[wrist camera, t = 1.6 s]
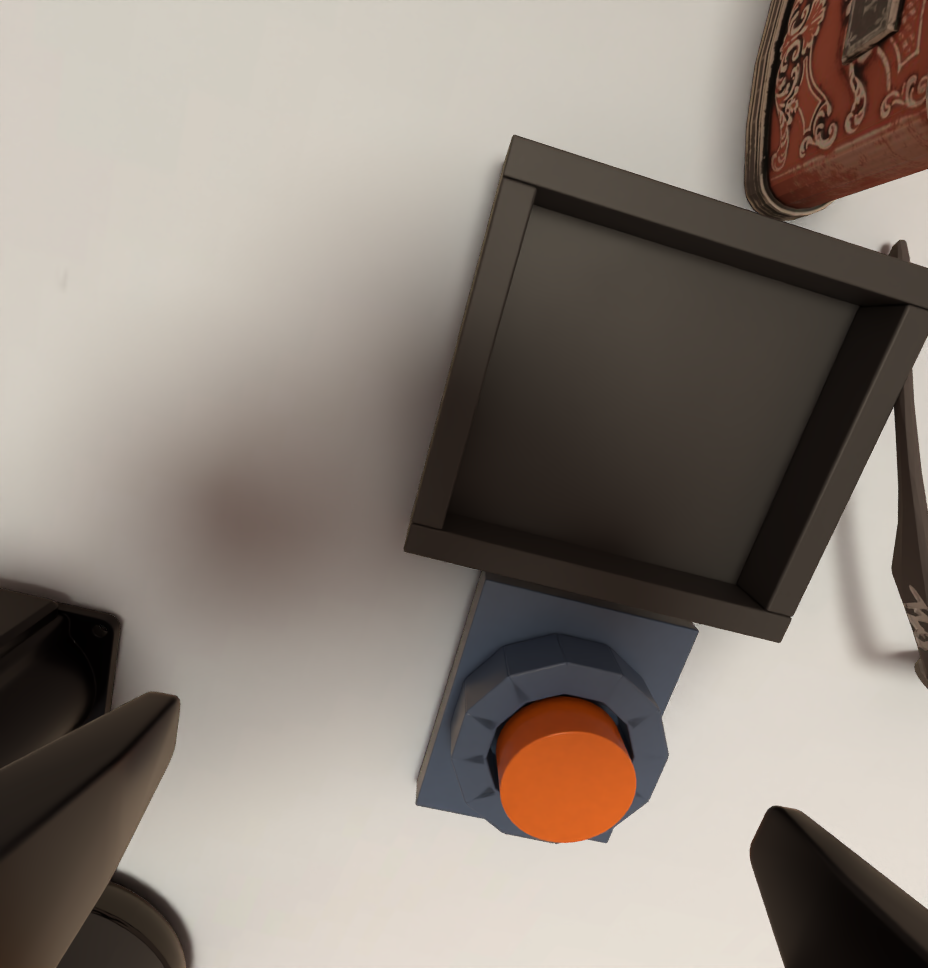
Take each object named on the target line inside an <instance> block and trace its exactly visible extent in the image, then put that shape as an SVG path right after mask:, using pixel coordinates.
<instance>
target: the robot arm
mask: <svg viewBox="0 0 928 968" xmlns="http://www.w3.org/2000/svg"><path fill="white" fill-rule="evenodd" d="M100 625H102V626H104V627H105V628H106V629H107V631H104V630H102V629H101V628H100ZM119 636H120V623H119V621H118V619H117V618H116V617H114V616H113V615H111V614H108V613H104V612H99V611H95V610H90V609H86V608H81V607H77V606H72V605H68V604H63V603H59V602H55V601H53V600H51V599H46V598H42V597H37V596H33V595H28V594H24V593H19V592H15V591H10V590H6V589H1V588H0V968H56V967H57V965H58V963H59V962H60V960H61V959H62V957H63V955H64V954H65V952H66V951H67V949H68V947H69V946H70V944H71V943H72V941H73V939H74V938H75V936H76V935H77V933H78V931H79V930H80V928H81V927H82V925H83V923H84V922H85V920H86V919H87V917H88V915H89V914H90V912H91V911H92V909H93V907H94V906H95V904H96V903H97V901H98V899H99V898H100V896H101V894H102V893H103V891H104V889H105V888H106V886H107V884H108V883H109V881H110V879H111V877H112V876H113V874H114V872H115V870H116V868H117V866H118V864H119V862H120V860H121V858H122V857H123V855H124V853H125V851H126V849H127V847H128V845H129V843H130V841H131V839H132V837H133V835H134V833H135V831H136V829H137V827H138V825H139V823H140V821H141V819H142V817H143V815H144V813H145V811H146V809H147V807H148V805H149V803H150V801H151V799H152V797H153V795H154V793H155V791H156V789H157V787H158V785H159V783H160V781H161V779H162V777H163V775H164V773H165V771H166V769H167V767H168V765H169V762H170V760H171V758H172V755H173V752H174V749H175V744H176V737H177V729H178V721H179V713H180V699H179V698H178V697H177V696H176V695H171V694H165V693H160V692H147V693H145V694H143V695H141V696H139V697H137V698H135V699H133V700H131V701H129V702H127V703H125V704H124V705H122V706H120V707H118V708H116V709H114V710H112V711H110V709H111V701H112V693H113V685H114V677H115V668H116V660H117V652H118V644H119ZM750 861H751V865H752V868H753V871H754V874H755V877H756V880H757V883H758V887H759V890H760V893H761V896H762V899H763V902H764V905H765V908H766V911H767V914H768V917H769V920H770V924H771V927H772V930H773V933H774V936H775V939H776V942H777V945H778V948H779V951H780V954H781V957H782V961H783V963H784V966H785V968H928V909H927V908H925V907H924V906H923V905H921V904H920V903H919V902H918V901H916V900H915V899H914V898H912V897H911V896H910V895H909V894H907V893H906V892H905V891H903V890H902V889H901V888H900V887H898V886H897V885H896V884H894V883H893V882H892V881H891V880H889V879H888V878H887V877H885V876H884V875H883V874H882V873H880V872H879V871H878V870H876V869H875V868H874V867H873V866H871V865H870V864H869V863H867V862H866V861H865V860H864V859H862V858H861V857H860V856H858V855H857V854H856V853H855V852H853V851H852V850H851V849H849V848H848V847H847V846H846V845H844V844H843V843H842V842H840V841H839V840H838V839H837V838H835V837H834V836H833V835H831V834H830V833H829V832H828V831H826V830H825V829H824V828H822V827H821V826H820V825H819V824H817V823H816V822H815V821H813V820H812V819H811V818H810V817H808V816H807V815H806V814H804V813H803V812H801V811H799V810H797V809H793V808H787V807H782V806H772V807H771V808H769V809H768V810H767V812H766V813H765V815H764V818H763V820H762V822H761V824H760V826H759V828H758V830H757V832H756V834H755V836H754V838H753V840H752V843H751V846H750Z"/></svg>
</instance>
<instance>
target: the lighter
mask: <svg viewBox="0 0 928 968" xmlns="http://www.w3.org/2000/svg"><path fill="white" fill-rule="evenodd" d="M926 169H928V0H772V3H771V6H770V10H769V14H768V18H767V22H766V26H765V29H764V33H763V37H762V41H761V45H760V49H759V52H758V56H757V60H756V64H755V71H754V78H753V85H752V92H751V99H750V106H749V114H748V121H747V130H746V158H745V190H746V196H747V198H748V200H749V202H750V203H751V205H752V207H753V208H754V209H755V210H756V211H757V212H759V213H760V214H762V215H765V216H768V217H771V218H774V219H777V220H780V221H784V220H794V219H797V218H801V217H804V216H807V215H810V214H813V213H815V212H818V211H820V210H823V209H825V208H826V207H827V206H828V205H830V204H831V203H832V202H833V201H834V200H836V199H839V198H842V197H845V196H848V195H851V194H854V193H857V192H860V191H863V190H866V189H869V188H872V187H875V186H878V185H881V184H884V183H887V182H890V181H893V180H896V179H899V178H902V177H905V176H908V175H911V174H914V173H917V172H920V171H923V170H926Z"/></svg>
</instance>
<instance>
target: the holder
mask: <svg viewBox="0 0 928 968" xmlns="http://www.w3.org/2000/svg"><path fill="white" fill-rule="evenodd" d="M927 336H928V268H926V267H923V266H920V265H917V264H913V263H910V262H907V261H904V260H901V259H898V258H895V257H892V256H889V255H886V254H882V253H879V252H876V251H873V250H870V249H867V248H864V247H861V246H858V245H855V244H852V243H848V242H845V241H842V240H839V239H836V238H833V237H830V236H827V235H824V234H821V233H817V232H814V231H811V230H808V229H805V228H802V227H799V226H796V225H793V224H790V223H786V222H783V221H780V220H777V219H774V218H771V217H768V216H765V215H762V214H759V213H755V212H752V211H749V210H746V209H743V208H740V207H737V206H734V205H731V204H728V203H724V202H721V201H718V200H715V199H712V198H709V197H706V196H703V195H700V194H697V193H694V192H690V191H687V190H684V189H681V188H678V187H675V186H672V185H669V184H666V183H663V182H659V181H656V180H653V179H650V178H647V177H644V176H641V175H638V174H635V173H632V172H628V171H625V170H622V169H619V168H616V167H613V166H610V165H607V164H604V163H601V162H597V161H594V160H591V159H588V158H585V157H582V156H579V155H576V154H573V153H570V152H566V151H563V150H560V149H557V148H554V147H551V146H548V145H545V144H542V143H539V142H536V141H532V140H529V139H526V138H523V137H520V136H517V135H513V136H512V139H511V142H510V146H509V149H508V152H507V155H506V158H505V161H504V164H503V168H502V172H501V176H500V179H499V183H498V187H497V191H496V195H495V198H494V202H493V206H492V210H491V214H490V217H489V221H488V225H487V229H486V233H485V236H484V240H483V244H482V248H481V252H480V255H479V259H478V263H477V267H476V271H475V274H474V278H473V282H472V286H471V290H470V293H469V297H468V301H467V305H466V309H465V313H464V316H463V320H462V324H461V328H460V332H459V335H458V339H457V343H456V347H455V351H454V354H453V358H452V362H451V366H450V370H449V373H448V377H447V381H446V385H445V389H444V392H443V396H442V400H441V404H440V408H439V411H438V415H437V419H436V423H435V427H434V430H433V434H432V438H431V442H430V446H429V449H428V453H427V457H426V461H425V465H424V468H423V472H422V476H421V480H420V484H419V488H418V491H417V495H416V499H415V503H414V507H413V510H412V514H411V518H410V522H409V526H408V531H407V536H406V540H405V545H404V551H405V552H408V553H412V554H416V555H420V556H424V557H428V558H432V559H437V560H441V561H445V562H449V563H453V564H457V565H461V566H465V567H469V568H473V569H478V570H482V571H486V572H490V573H494V574H498V575H502V576H506V577H510V578H515V579H519V580H523V581H527V582H531V583H535V584H539V585H543V586H547V587H551V588H556V589H560V590H564V591H568V592H572V593H576V594H580V595H584V596H588V597H593V598H597V599H601V600H605V601H609V602H613V603H617V604H621V605H625V606H629V607H634V608H638V609H642V610H646V611H650V612H654V613H658V614H662V615H666V616H671V617H675V618H679V619H683V620H687V621H691V622H695V623H699V624H703V625H708V626H712V627H716V628H720V629H724V630H728V631H732V632H736V633H740V634H744V635H749V636H753V637H757V638H761V639H765V640H769V641H773V642H777V643H780V642H781V641H782V639H783V636H784V634H785V632H786V630H787V628H788V626H789V624H790V622H791V617H792V616H793V615H794V613H795V611H796V609H797V607H798V605H799V603H800V601H801V598H802V596H803V594H804V592H805V590H806V588H807V586H808V584H809V582H810V580H811V578H812V576H813V573H814V571H815V569H816V567H817V565H818V563H819V561H820V559H821V557H822V555H823V553H824V551H825V548H826V546H827V544H828V542H829V540H830V538H831V536H832V534H833V532H834V530H835V528H836V526H837V524H838V521H839V519H840V517H841V515H842V513H843V511H844V509H845V507H846V505H847V503H848V501H849V499H850V496H851V494H852V492H853V490H854V488H855V486H856V484H857V482H858V480H859V478H860V476H861V474H862V471H863V469H864V467H865V465H866V463H867V461H868V459H869V457H870V455H871V453H872V451H873V449H874V446H875V444H876V442H877V440H878V438H879V436H880V434H881V432H882V430H883V428H884V426H885V424H886V422H887V419H888V417H889V415H890V413H891V411H892V409H893V407H894V405H895V403H896V401H897V399H898V397H899V394H900V392H901V390H902V388H903V386H904V384H905V382H906V380H907V378H908V376H909V374H910V372H911V369H912V367H913V365H914V363H915V361H916V359H917V357H918V355H919V353H920V351H921V349H922V347H923V344H924V342H925V340H926V338H927Z"/></svg>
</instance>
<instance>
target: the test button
mask: <svg viewBox="0 0 928 968" xmlns="http://www.w3.org/2000/svg"><path fill="white" fill-rule="evenodd" d="M496 763H497V772H498V782H499V791H500V798H501V803H502V806H503V808H504V811H505V812H506V814H507V816H508V817H509V819H510V820H511V821H512V822H513V823H514V824H515V825H516V826H517V827H518V828H519V829H521V830H522V831H523V832H525V833H527V834H529V835H530V836H532V837H535V838H538V839H541V840H545V841H549V842H557V843H569V842H577V841H583V840H586V839H590V838H592V837H595V836H597V835H600V834H601V833H603V832H605V831H607V830H608V829H610V828H611V827H613V826H614V825H615V824H616V823H617V822H619V821H620V819H621V818H622V817H623V816H624V815H625V814H626V812H627V811H628V809H629V808H630V806H631V804H632V802H633V799H634V796H635V791H636V773H635V769H634V766H633V764H632V761H631V759H630V756H629V754H628V752H627V749H626V747H625V744H624V742H623V740H622V737H621V735H620V732H619V730H618V728H617V726H616V724H615V722H614V721H613V719H612V718H611V717H610V716H609V715H608V714H607V713H606V712H605V711H604V710H603V709H601V708H600V707H599V706H597V705H595V704H594V703H591V702H589V701H587V700H584V699H580V698H576V697H568V696H558V697H549V698H545V699H541V700H538V701H535V702H533V703H530V704H528V705H527V706H525V707H523V708H521V709H520V710H519V711H517V712H516V713H515V714H514V715H513V716H512V717H511V718H510V719H509V720H508V721H507V722H506V724H505V725H504V727H503V729H502V730H501V732H500V735H499V737H498V740H497V744H496Z"/></svg>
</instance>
